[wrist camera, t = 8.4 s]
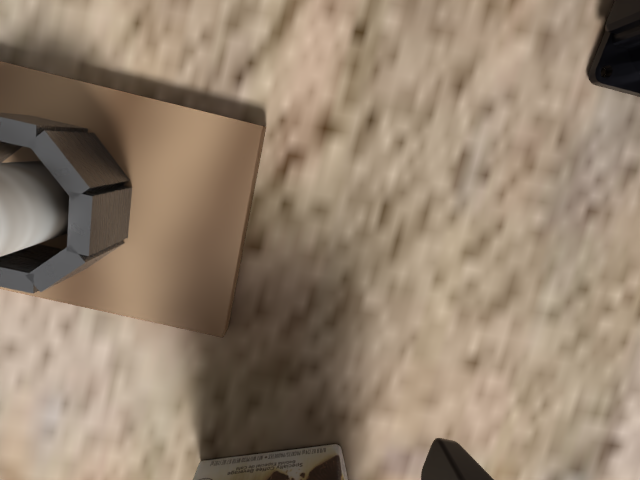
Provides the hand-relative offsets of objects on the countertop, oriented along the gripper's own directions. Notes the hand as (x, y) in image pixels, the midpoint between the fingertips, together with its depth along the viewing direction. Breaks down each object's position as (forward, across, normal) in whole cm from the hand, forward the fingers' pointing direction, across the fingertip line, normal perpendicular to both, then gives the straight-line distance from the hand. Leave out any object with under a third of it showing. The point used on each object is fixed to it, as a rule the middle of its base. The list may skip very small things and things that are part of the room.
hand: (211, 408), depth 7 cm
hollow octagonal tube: (+11, +11, 0) cm, 16 cm away
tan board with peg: (+12, +9, 0) cm, 15 cm away
